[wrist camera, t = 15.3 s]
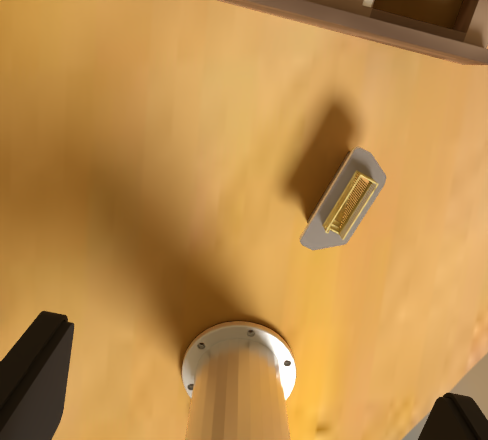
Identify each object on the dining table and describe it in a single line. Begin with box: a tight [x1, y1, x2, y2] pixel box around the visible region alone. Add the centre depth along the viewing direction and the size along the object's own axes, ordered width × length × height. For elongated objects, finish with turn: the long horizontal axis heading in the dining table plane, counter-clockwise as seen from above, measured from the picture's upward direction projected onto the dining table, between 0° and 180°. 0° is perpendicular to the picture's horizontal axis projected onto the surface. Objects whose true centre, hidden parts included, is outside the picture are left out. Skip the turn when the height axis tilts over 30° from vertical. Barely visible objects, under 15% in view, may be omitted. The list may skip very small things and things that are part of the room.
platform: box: [300, 147, 386, 250], centre depth 41 cm, size 12×18×7 cm, turn 153°
